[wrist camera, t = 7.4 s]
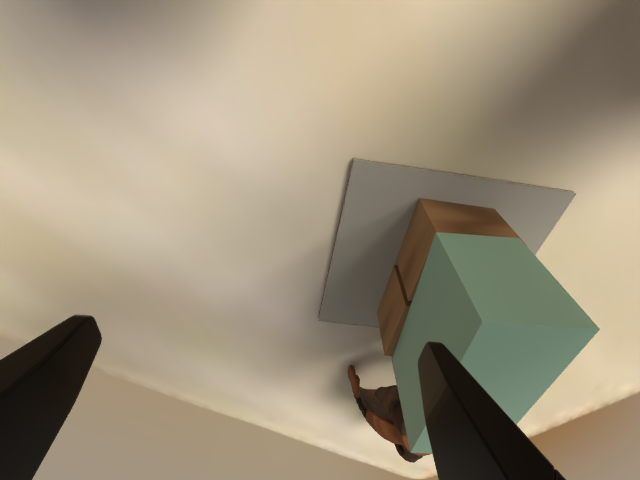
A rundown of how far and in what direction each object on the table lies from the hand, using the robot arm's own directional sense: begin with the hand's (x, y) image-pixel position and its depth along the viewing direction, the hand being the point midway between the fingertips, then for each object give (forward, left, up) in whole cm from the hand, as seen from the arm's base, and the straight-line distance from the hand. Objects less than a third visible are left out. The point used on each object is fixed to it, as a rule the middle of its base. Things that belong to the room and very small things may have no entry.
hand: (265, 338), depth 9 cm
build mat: (-10, +6, -13) cm, 18 cm away
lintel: (-10, +6, -8) cm, 15 cm away
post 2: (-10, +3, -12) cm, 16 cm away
